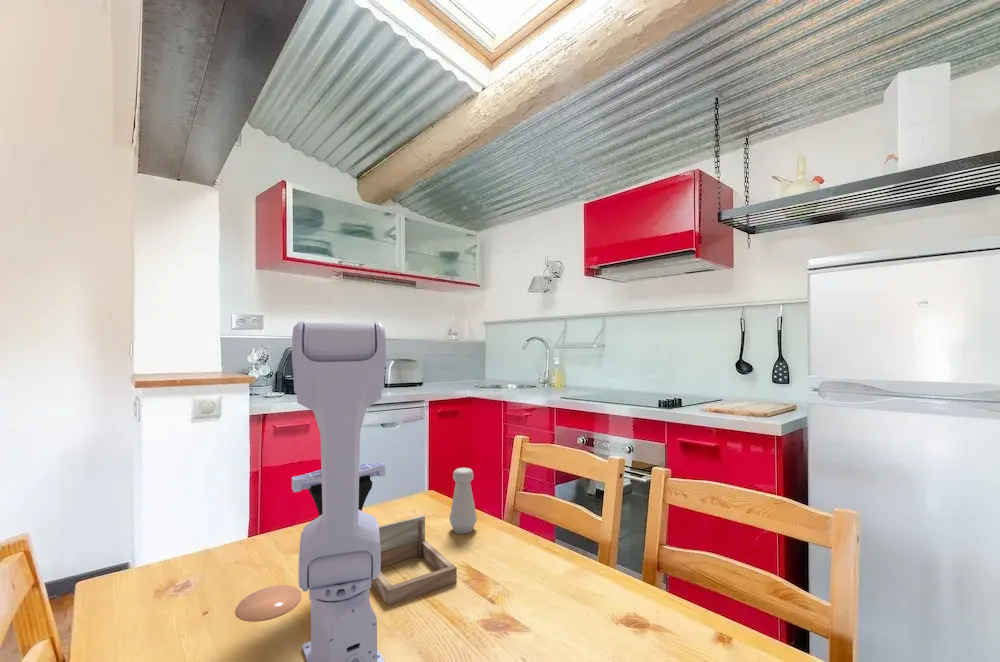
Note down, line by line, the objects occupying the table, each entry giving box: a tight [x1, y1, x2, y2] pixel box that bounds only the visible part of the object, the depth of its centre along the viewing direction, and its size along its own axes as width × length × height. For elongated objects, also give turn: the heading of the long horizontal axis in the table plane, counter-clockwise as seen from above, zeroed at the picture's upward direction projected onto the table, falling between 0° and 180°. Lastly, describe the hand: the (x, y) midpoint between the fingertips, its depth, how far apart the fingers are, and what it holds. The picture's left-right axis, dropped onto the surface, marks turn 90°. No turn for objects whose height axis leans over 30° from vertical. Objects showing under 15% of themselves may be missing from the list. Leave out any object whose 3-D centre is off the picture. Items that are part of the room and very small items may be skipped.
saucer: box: [235, 584, 302, 622], centre depth 70 cm, size 9×9×1 cm
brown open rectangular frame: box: [371, 515, 458, 607], centre depth 79 cm, size 13×12×7 cm
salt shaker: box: [449, 467, 478, 535], centre depth 97 cm, size 6×6×13 cm
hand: (340, 526), depth 75 cm, fingers closed on supplement box, 4 cm apart
